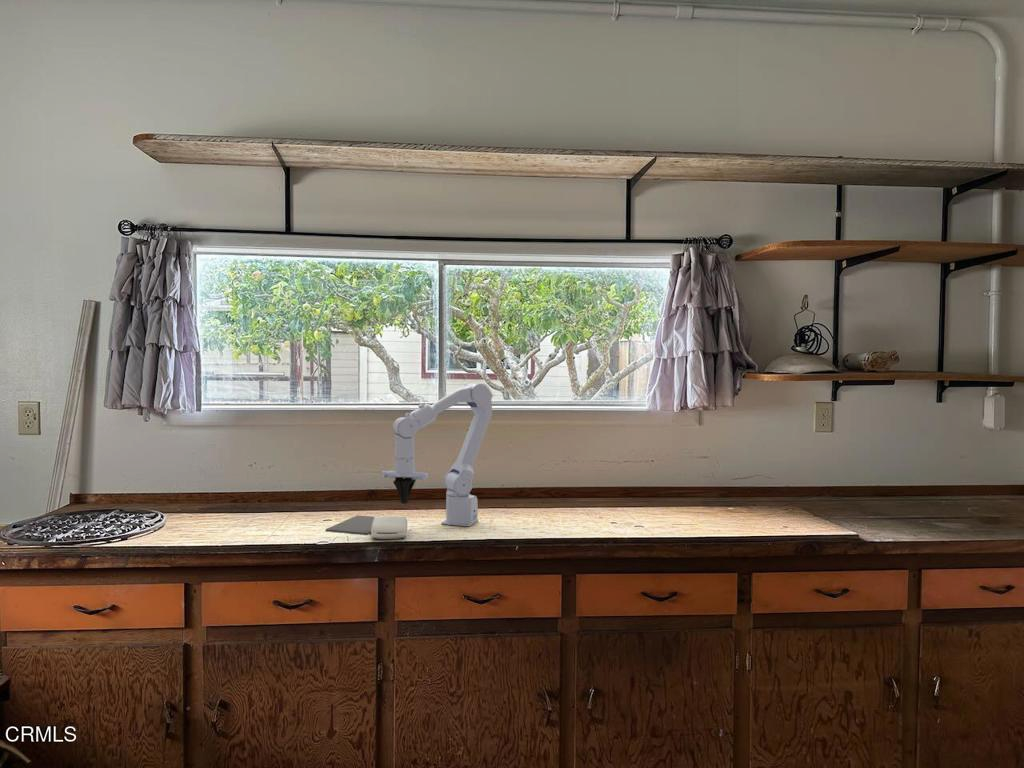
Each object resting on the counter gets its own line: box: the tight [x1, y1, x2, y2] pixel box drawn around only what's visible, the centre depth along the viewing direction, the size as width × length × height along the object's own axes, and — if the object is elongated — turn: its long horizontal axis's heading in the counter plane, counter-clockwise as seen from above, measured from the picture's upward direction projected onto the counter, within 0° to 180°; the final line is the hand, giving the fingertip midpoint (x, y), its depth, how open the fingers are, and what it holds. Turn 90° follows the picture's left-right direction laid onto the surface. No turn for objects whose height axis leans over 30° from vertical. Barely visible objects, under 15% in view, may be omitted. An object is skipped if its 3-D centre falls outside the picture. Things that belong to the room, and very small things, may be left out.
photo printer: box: [370, 515, 408, 540], centre depth 182 cm, size 10×4×12 cm
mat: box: [325, 514, 375, 536], centre depth 193 cm, size 14×18×1 cm
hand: (404, 502), depth 189 cm, fingers closed
